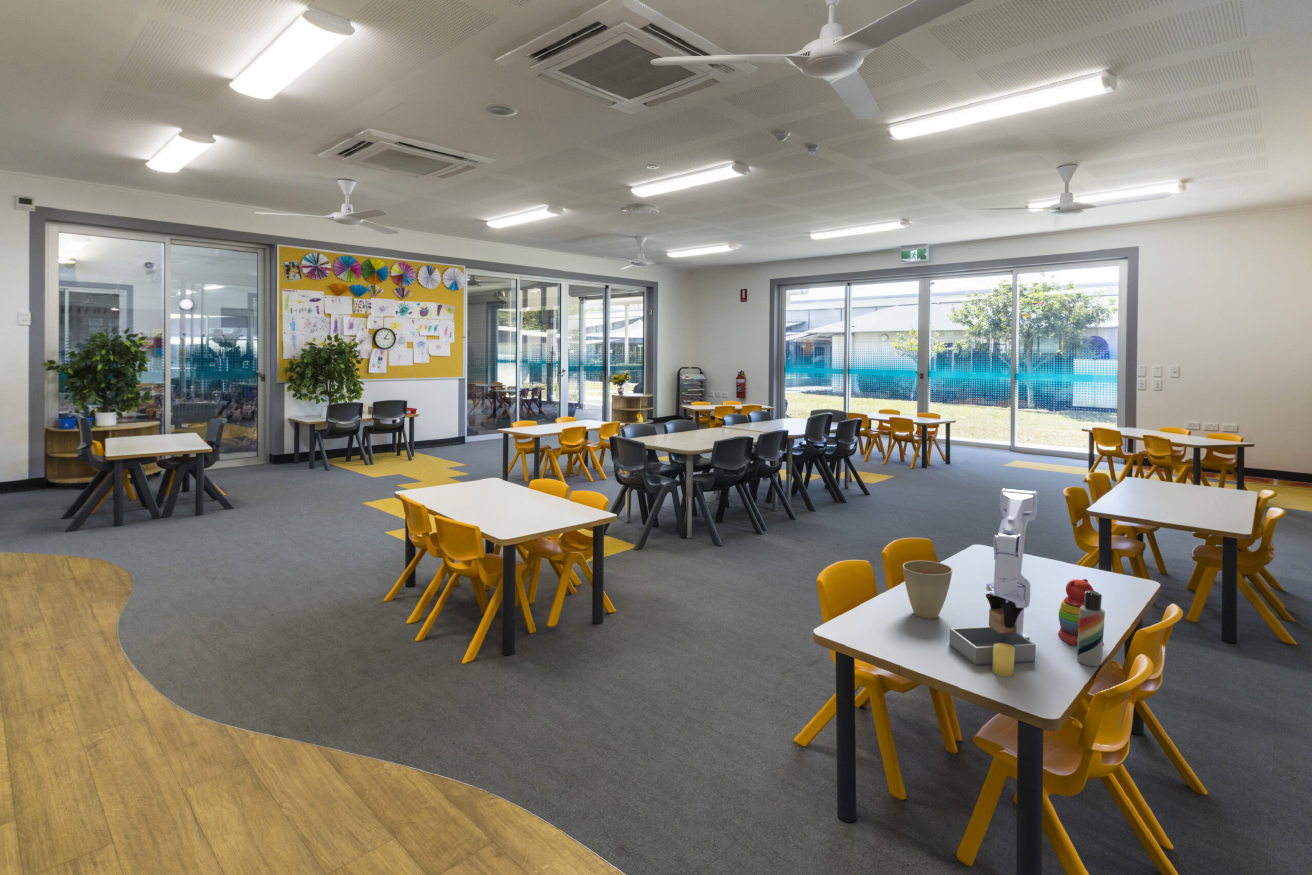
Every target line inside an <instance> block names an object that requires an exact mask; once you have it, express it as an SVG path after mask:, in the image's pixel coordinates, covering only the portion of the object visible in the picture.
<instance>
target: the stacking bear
mask: <svg viewBox="0 0 1312 875" xmlns="http://www.w3.org/2000/svg"><path fill="white" fill-rule="evenodd" d="M1087 590H1091V591H1095V590H1094V588H1093V587H1092V585H1091V584H1090V583H1089V581H1088V579H1087V578H1083V579H1071V580H1069V581H1068V582H1067V583H1066V586H1065V592H1066V594H1067V596H1066V597H1065V598H1064V599H1063V600H1062V601H1061V603H1060V607H1059V610H1058V621H1059V626H1060V628H1059V630H1058V633H1057V634H1058V637H1059V638H1060V639H1061V640H1062V641H1063V642H1064V643H1067V644H1068V645H1071V646H1075V647H1077V646H1078V630H1079V615H1080V607H1081V606H1084V603H1085V592H1086V591H1087Z"/></svg>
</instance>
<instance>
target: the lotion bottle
mask: <svg viewBox="0 0 1312 875" xmlns="http://www.w3.org/2000/svg"><path fill="white" fill-rule="evenodd" d="M1102 598H1103V596H1102V593H1100V592H1098V591H1095V590H1094V591H1091V590H1087V591H1086V592H1085V603H1084V606H1081V607H1080V615H1079V630H1078V646H1076V647H1077V649H1076V661H1077V662H1078V663H1080V664H1082V665H1084V666H1087V665H1088V666H1089V667H1099V666H1098V665H1100V666H1101V665H1102V659H1103V648H1104V645H1103V644H1104V635H1105V634H1104V632H1105V630H1104V629H1105V618H1106V617H1105V615H1106V612H1105V610H1104V609H1103V608H1102Z"/></svg>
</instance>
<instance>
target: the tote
mask: <svg viewBox="0 0 1312 875" xmlns="http://www.w3.org/2000/svg"><path fill="white" fill-rule="evenodd" d="M987 626H988V627H987ZM987 626H974V627H971V626H970V627H957V628H956V627H955V628H953V627H951V628H949V646H950V647H951V648H953V649H954V650H955V651H957V653H959V654H960V655H961V656H962V657H963V658H965V659H967V660H968V661H969V662H970V663H972V664H973V665H974V666H990V665H992V666H993V646H994V644H995V643H1005V644H1009V645H1011V646H1013V647H1014V648H1015V654H1014V664H1021V663H1022V664H1024V663H1027V664H1028V663H1035V662H1036V649H1037V648H1036V644H1035V643H1034V642H1033V641H1031V640H1029V638H1028V639H1026V638H1025V637H1023V636H1022V635H1020V634H1018V633H1017V632H1011V633H998V632H997V631H995V630H994V629H992V628H991V627H989V625H987Z"/></svg>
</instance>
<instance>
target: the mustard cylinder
mask: <svg viewBox="0 0 1312 875" xmlns="http://www.w3.org/2000/svg"><path fill="white" fill-rule="evenodd" d="M1014 654H1015V648H1014V647H1013V646H1011V645H1009V644H1005V643H995V644H994V646H993V665H992V670H991V671H992V672H993V673H994V674H995V675H996V676H1001V677H1006V678H1007V677H1008V678H1009V677H1012V676H1014V672H1015V671H1014V668H1015V663H1014Z"/></svg>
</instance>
